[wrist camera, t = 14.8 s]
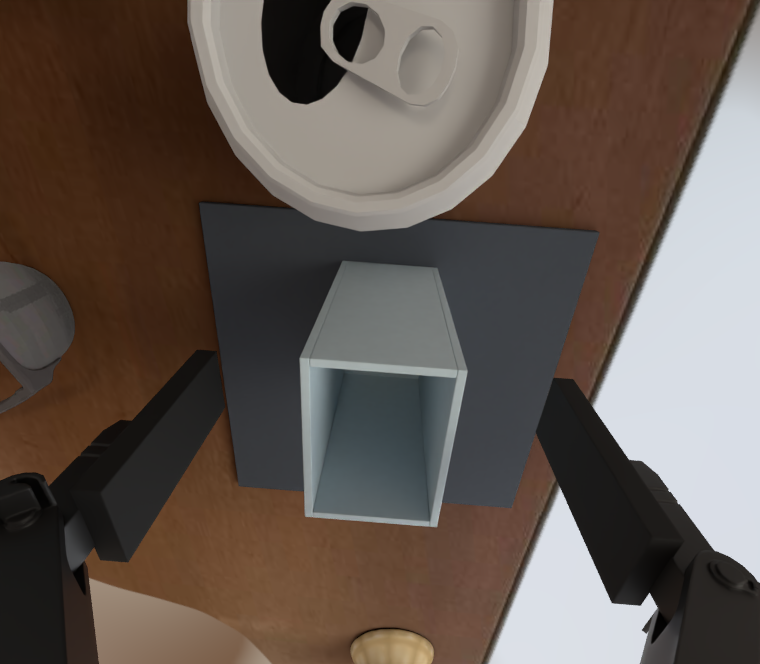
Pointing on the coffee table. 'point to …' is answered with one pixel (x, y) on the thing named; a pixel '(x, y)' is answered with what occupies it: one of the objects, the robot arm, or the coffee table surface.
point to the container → (380, 396)
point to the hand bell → (391, 648)
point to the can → (371, 97)
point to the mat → (467, 307)
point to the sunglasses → (31, 329)
